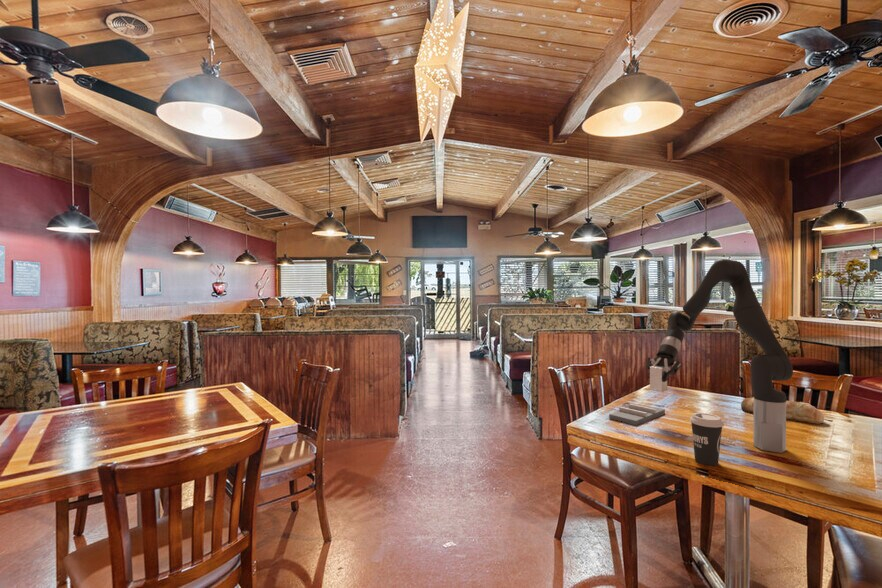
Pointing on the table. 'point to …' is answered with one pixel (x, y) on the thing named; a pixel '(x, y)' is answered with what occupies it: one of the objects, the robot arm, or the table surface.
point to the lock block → (657, 378)
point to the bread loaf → (792, 411)
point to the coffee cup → (706, 437)
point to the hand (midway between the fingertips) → (656, 379)
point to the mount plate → (636, 414)
